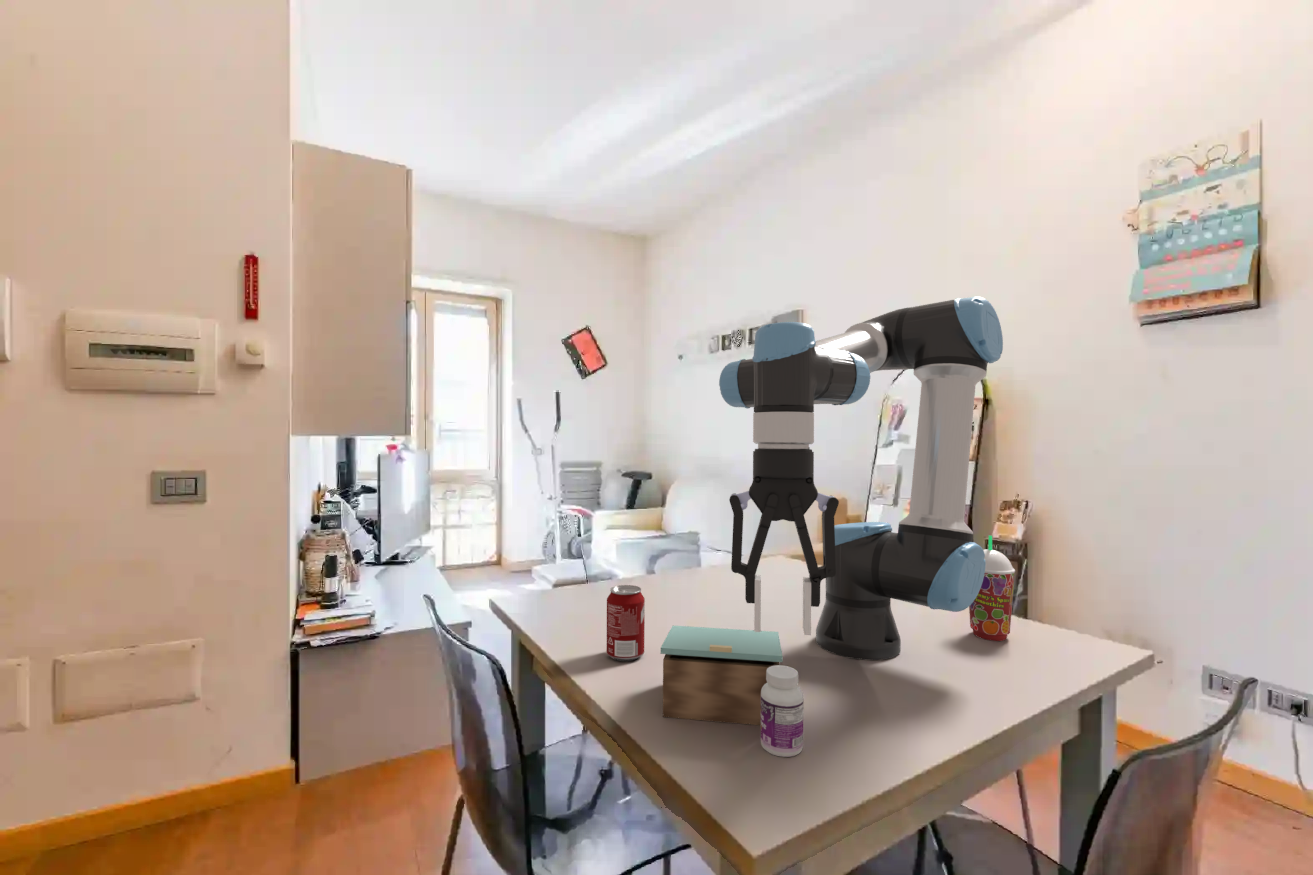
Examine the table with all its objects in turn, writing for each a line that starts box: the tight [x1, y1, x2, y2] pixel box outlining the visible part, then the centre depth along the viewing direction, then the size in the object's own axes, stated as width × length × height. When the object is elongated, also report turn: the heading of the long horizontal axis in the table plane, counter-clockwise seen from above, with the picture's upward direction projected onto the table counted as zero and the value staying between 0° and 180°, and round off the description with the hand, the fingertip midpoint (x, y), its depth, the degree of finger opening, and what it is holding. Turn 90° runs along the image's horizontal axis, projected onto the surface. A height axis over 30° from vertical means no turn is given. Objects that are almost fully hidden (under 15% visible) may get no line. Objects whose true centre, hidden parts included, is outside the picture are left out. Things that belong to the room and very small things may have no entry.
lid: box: [660, 625, 784, 663], centre depth 85 cm, size 17×13×1 cm
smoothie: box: [968, 535, 1016, 642], centre depth 114 cm, size 8×8×20 cm
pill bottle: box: [760, 664, 805, 758], centre depth 73 cm, size 5×5×10 cm
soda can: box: [605, 584, 646, 662], centre depth 103 cm, size 7×7×12 cm
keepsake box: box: [662, 654, 780, 726], centre depth 85 cm, size 16×12×8 cm
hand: (781, 629), depth 73 cm, fingers open, 5 cm apart
